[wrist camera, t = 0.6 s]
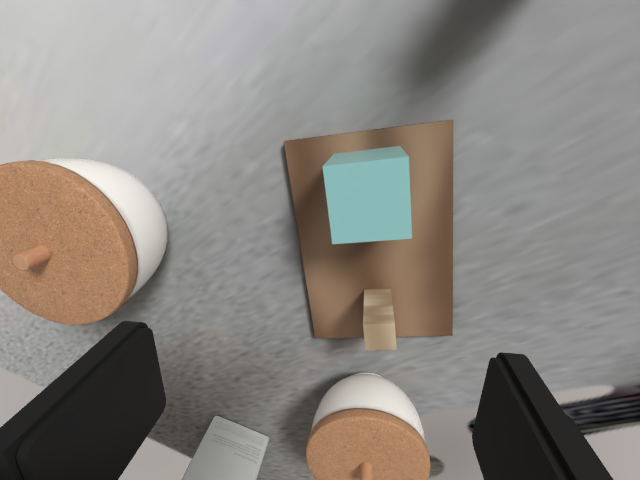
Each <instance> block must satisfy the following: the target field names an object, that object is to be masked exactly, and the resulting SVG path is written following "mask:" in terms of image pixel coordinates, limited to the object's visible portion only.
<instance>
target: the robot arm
mask: <svg viewBox="0 0 640 480" xmlns="http://www.w3.org/2000/svg"><path fill="white" fill-rule="evenodd" d="M165 404H166V397H165V392H164V387H163V382H162V377H161V372H160V367H159V362H158V357H157V352H156V347H155V342H154V337H153V332H152V330H151V329H150V328H148V326H147V325H146V324H145V323H143V322H131V321H124V322H121V323H120V324H119V325H117V326H116V327H115V328H114V329H113V330H112V331H111V332H109V333H108V334H107V335H106V336H105V337H104V338H103V339H101V340H100V341H99V342H98V343H97V344H96V345H95V346H93V347H92V348H91V349H90V350H89V351H88V352H87V353H85V354H84V355H83V356H82V357H81V358H80V359H79V360H77V361H76V362H75V363H74V364H73V365H72V366H70V367H69V368H68V369H67V370H66V371H65V372H64V373H62V374H61V375H60V376H59V377H58V378H57V379H56V380H54V381H53V382H52V383H51V384H50V385H49V386H48V387H46V388H45V389H44V390H43V391H42V392H41V393H40V394H38V395H37V396H36V397H35V398H34V399H33V400H32V401H31V402H29V403H28V404H27V405H26V406H25V407H24V408H22V409H21V410H20V411H19V412H18V413H17V414H16V415H14V416H13V417H12V418H11V419H10V420H9V421H7V422H6V423H5V424H4V425H3V426H2V427H1V428H0V480H118V479H119V477H120V476H121V474H122V473H123V471H124V470H125V468H126V467H127V465H128V464H129V462H130V461H131V459H132V458H133V456H134V455H135V453H136V452H137V450H138V448H139V447H140V446H141V444H142V443H143V441H144V440H145V438H146V437H147V435H148V434H149V432H150V431H151V429H152V428H153V426H154V425H155V423H156V422H157V420H158V419H159V417H160V416H161V414H162V412H163V411H164V408H165ZM472 439H473V446H474V450H475V453H476V456H477V459H478V462H479V465H480V468H481V471H482V474H483V477H484V480H613V478H612V477H611V476H610V474H609V473H608V471H607V470H606V468H605V467H604V465H603V464H602V462H601V461H600V459H599V458H598V456H597V455H596V454H595V452H594V451H593V449H592V448H591V446H590V445H589V443H588V442H587V440H586V439H585V437H584V436H583V434H582V433H581V431H580V430H579V428H578V427H577V425H576V424H575V423H574V422H573V420H572V419H571V418H570V417H569V416H567V415H566V414H565V413H564V412H563V410H562V409H561V407H560V406H559V404H558V403H557V401H556V400H555V398H554V397H553V395H552V394H551V392H550V391H549V389H548V388H547V386H546V385H545V383H544V382H543V380H542V379H541V377H540V376H539V374H538V373H537V371H536V370H535V368H534V367H533V365H532V364H531V362H530V361H529V359H528V358H527V357H526V356H525V355H523V354H513V353H499V354H498V355H497V357H496V358H491V359H490V361H489V365H488V369H487V373H486V378H485V382H484V386H483V390H482V395H481V399H480V403H479V407H478V412H477V416H476V420H475V424H474V429H473V434H472Z"/></svg>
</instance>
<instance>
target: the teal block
mask: <svg viewBox="0 0 640 480" xmlns="http://www.w3.org/2000/svg"><path fill="white" fill-rule="evenodd" d="M323 174H324V182H325V190H326V198H327V206H328V214H329V222H330V230H331V238H332V244H343V243H357V242H371V241H385V240H400V239H412V224H411V198H410V173H409V156H408V155H407V154H406V153H405V151H404V150H403V149H402V148H401V146H395V147H387V148H378V149H370V150H361V151H353V152H344V153H336V154H333V155H332V156H331V157H330V158H329V160H328V161H327V162H326V163H325V164H324V165H323Z"/></svg>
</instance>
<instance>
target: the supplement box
mask: <svg viewBox="0 0 640 480" xmlns="http://www.w3.org/2000/svg"><path fill="white" fill-rule="evenodd" d="M268 441H269V437H268V436H265V435H263V434H261V433H258V432H256V431H253V430H251V429H249V428H246V427H244V426H242V425H239V424H237V423H234V422H232V421H229V420H227V419H225V418H222V417H219V416H214V418H213V420H212V421H211V423H210V425H209V427H208V429H207V431H206V433H205V435H204V437H203V439H202V441H201V443H200V445H199V447H198V449H197V451H196V452H195V454H194V456H193V458H192V460H191V462H190V464H189V466H188V468H187V470H186V472H185V474H184V476H183V478H182V480H256V479H257V476H258V473H259V469H260V466H261V463H262V460H263V457H264V454H265V451H266V447H267V444H268Z"/></svg>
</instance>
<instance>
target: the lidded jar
mask: <svg viewBox="0 0 640 480" xmlns="http://www.w3.org/2000/svg"><path fill="white" fill-rule="evenodd" d="M306 460H307V464H308V467H309V469H310V471H311V473H312V474H313V476H314V477H315V479H316V480H427V479H428V476H429V474H430V458H429V452H428V449H427V446H426V442H425V437H424V432H423V428H422V425H421V422H420V419H419V416H418V414H417V411H416V409H415V407H414V405H413V404H412V402H411V400H410V399H409V398H408V396H407V395H406V394H405V393H404V392H403V391H402V390H401V389H400V388H399V387H398V386H397V385H396V384H394V383H393V382H391V381H389V380H387V379H386V378H384V377H382V376H380V375H378V374H374V373H368V372H361V373H356V374H353V375H351V376H349V377H346V378H344V379H342V380H340V381H338V382H337V383H336V384H334V385H333V386H332V387H331V388H330V389H329V390H328V391H327V392H326V394H325V395H324V397H323V398H322V400H321V402H320V404H319V406H318V408H317V411H316V414H315V416H314V419H313V423H312V428H311V433H310V435H309V437H308V441H307V447H306Z"/></svg>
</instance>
